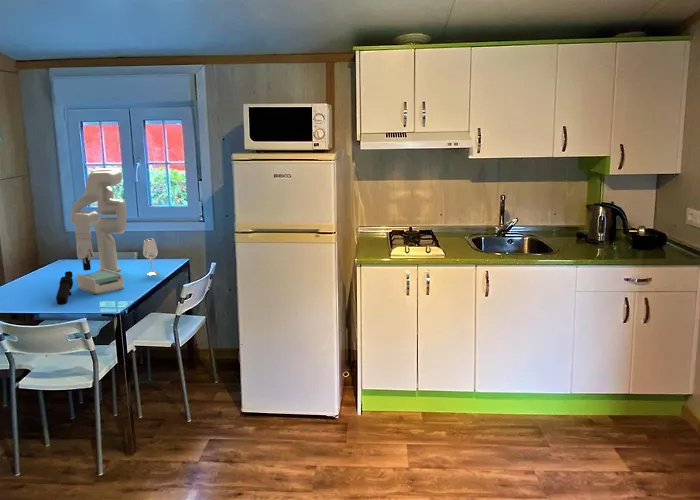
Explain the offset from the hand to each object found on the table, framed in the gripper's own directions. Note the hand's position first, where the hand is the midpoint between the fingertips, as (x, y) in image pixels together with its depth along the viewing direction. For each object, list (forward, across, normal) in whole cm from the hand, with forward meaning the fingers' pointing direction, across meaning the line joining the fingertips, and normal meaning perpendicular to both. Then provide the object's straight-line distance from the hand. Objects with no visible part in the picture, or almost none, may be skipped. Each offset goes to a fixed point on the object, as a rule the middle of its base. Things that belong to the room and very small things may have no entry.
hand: (87, 269), depth 322 cm
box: (+8, +13, +1) cm, 16 cm away
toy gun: (+9, +17, -19) cm, 27 cm away
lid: (+3, +14, 0) cm, 14 cm away
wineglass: (+8, +5, +35) cm, 36 cm away
